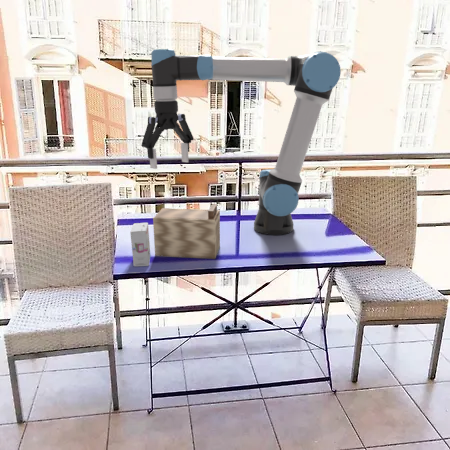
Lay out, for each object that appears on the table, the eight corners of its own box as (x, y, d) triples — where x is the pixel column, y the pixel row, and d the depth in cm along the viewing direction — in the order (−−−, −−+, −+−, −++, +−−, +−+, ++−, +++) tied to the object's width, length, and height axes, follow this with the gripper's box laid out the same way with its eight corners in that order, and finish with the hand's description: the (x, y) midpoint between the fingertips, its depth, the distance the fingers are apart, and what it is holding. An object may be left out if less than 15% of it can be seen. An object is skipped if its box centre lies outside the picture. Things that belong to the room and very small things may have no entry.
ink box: (135, 256, 151) (133, 222, 148) (150, 255, 152) (148, 221, 148) (132, 266, 143) (130, 230, 140) (148, 266, 144) (146, 230, 140)
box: (219, 246, 160) (219, 210, 155) (215, 258, 149) (214, 220, 145) (163, 244, 162) (161, 208, 158) (155, 255, 152) (153, 217, 147)
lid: (218, 213, 155) (218, 203, 154) (214, 222, 146) (214, 211, 145) (162, 211, 157) (161, 201, 156) (154, 220, 148) (153, 209, 147)
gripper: (187, 97, 160) (190, 158, 167) (126, 102, 143) (132, 169, 150) (202, 98, 155) (204, 160, 162) (140, 103, 138) (146, 172, 145)
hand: (170, 165), depth 156 cm, fingers open, 13 cm apart
